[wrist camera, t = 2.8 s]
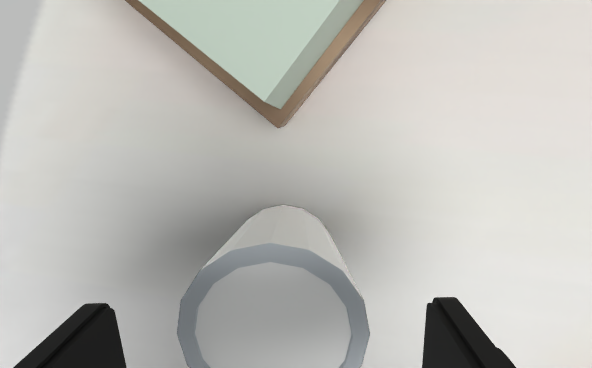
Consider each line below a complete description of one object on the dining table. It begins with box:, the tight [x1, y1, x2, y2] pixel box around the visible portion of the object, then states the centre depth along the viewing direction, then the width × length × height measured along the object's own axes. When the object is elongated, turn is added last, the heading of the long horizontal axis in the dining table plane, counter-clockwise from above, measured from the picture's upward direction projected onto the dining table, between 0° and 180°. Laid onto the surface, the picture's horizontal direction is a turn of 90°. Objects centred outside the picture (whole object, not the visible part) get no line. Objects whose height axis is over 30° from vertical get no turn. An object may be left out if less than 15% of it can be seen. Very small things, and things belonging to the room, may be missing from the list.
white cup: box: [177, 205, 370, 368], centre depth 14 cm, size 7×7×7 cm
